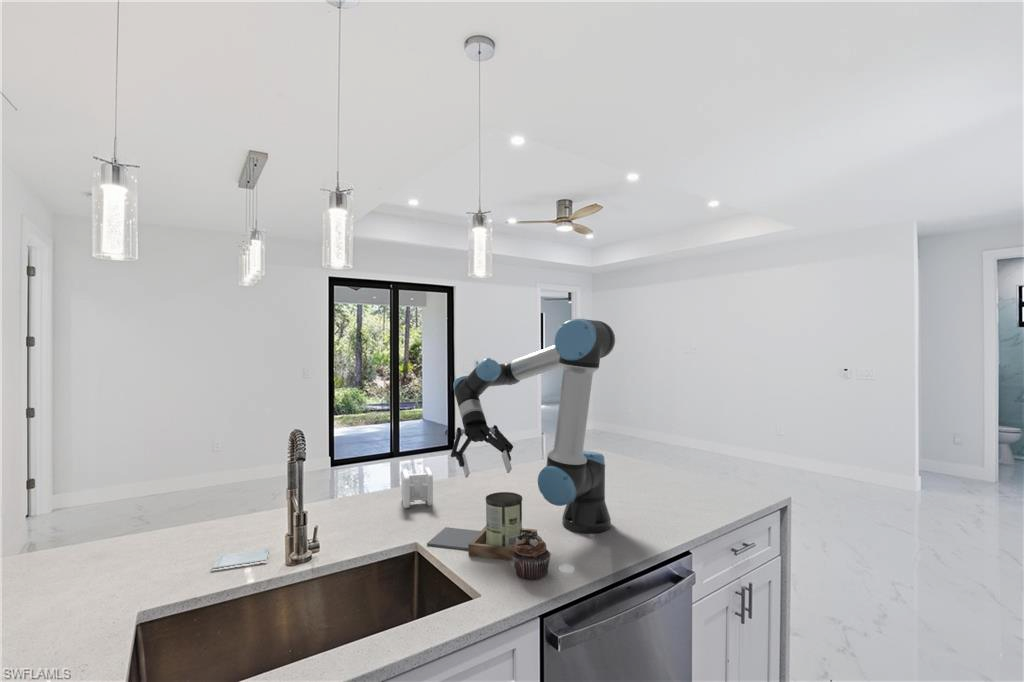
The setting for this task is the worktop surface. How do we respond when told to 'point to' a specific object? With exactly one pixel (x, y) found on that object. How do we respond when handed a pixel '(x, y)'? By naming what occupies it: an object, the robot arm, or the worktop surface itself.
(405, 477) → the cable organizer
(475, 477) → the worktop surface
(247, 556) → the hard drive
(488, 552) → the walnut collar
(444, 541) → the rubber pad
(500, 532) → the coffee can
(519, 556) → the cupcake
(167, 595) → the worktop surface
